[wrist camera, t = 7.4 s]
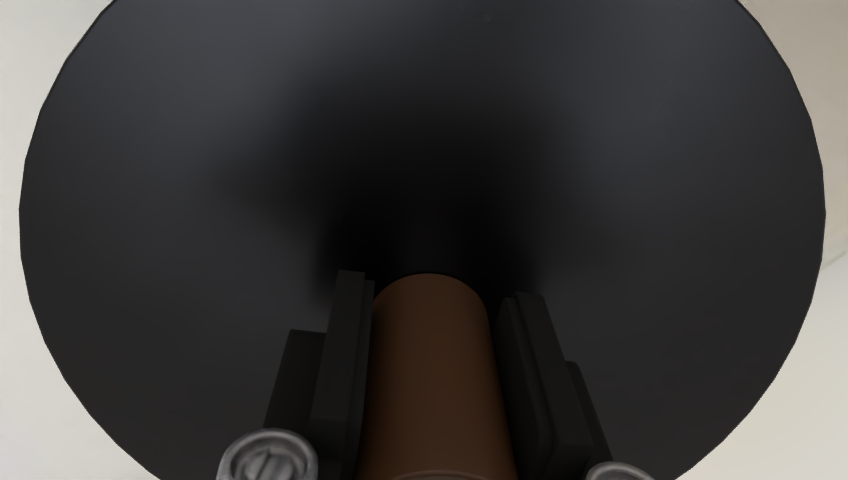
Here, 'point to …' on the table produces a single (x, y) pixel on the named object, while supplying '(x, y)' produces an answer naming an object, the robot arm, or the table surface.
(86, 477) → the table surface
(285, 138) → the lid
